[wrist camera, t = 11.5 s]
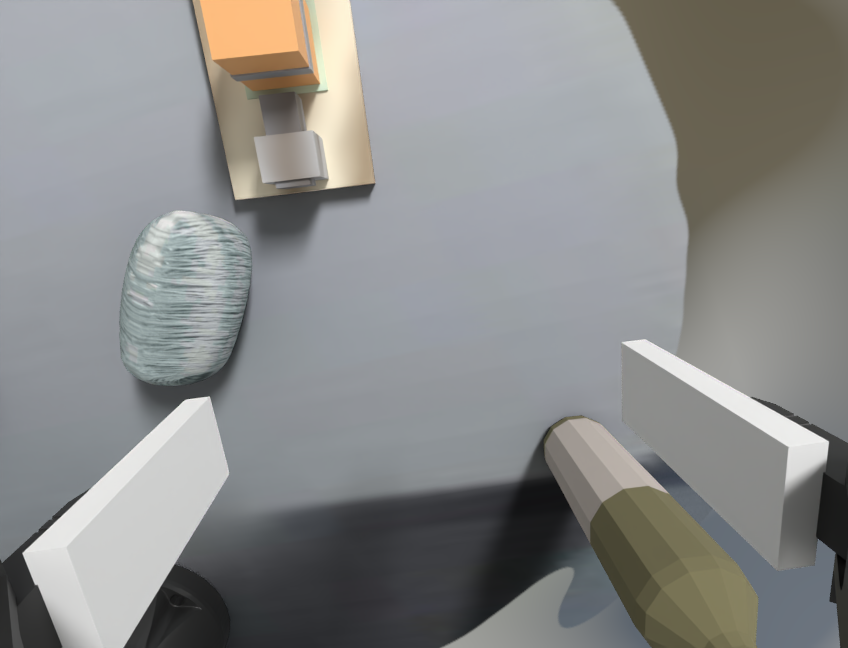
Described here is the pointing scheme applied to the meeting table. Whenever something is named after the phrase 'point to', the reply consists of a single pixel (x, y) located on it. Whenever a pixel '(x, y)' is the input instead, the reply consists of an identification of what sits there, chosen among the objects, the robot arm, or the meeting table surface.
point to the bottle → (650, 544)
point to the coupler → (262, 41)
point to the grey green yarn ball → (183, 298)
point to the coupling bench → (316, 112)
